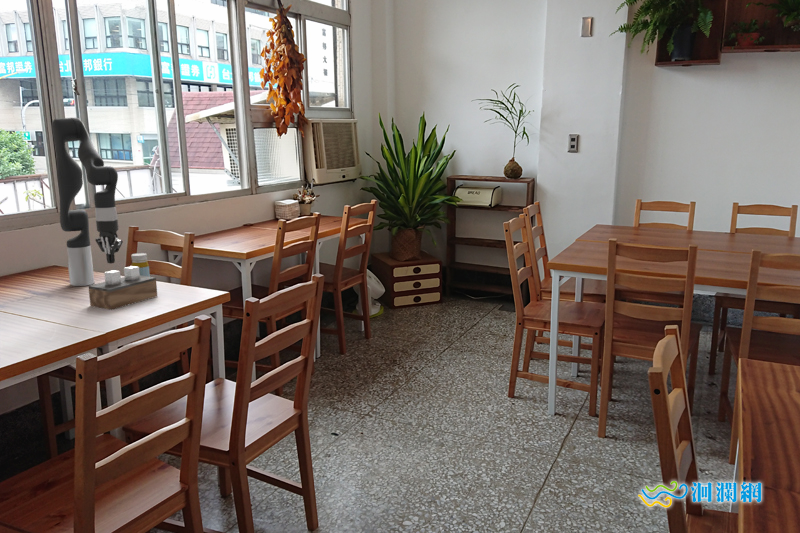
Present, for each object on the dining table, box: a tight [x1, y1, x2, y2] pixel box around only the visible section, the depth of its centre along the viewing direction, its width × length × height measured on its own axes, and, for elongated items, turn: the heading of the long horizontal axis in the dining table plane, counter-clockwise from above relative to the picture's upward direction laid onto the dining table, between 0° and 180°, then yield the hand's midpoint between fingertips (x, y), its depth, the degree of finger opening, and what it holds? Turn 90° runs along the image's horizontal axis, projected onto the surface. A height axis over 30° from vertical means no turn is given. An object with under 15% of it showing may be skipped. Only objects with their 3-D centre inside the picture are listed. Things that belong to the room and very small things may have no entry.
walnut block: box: [87, 275, 158, 311], centre depth 239 cm, size 12×22×8 cm, turn 154°
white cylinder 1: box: [103, 269, 122, 286], centre depth 234 cm, size 4×4×7 cm
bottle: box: [130, 252, 151, 277], centre depth 259 cm, size 7×7×15 cm
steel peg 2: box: [123, 265, 140, 281], centre depth 242 cm, size 4×4×7 cm
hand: (111, 263), depth 232 cm, fingers closed
